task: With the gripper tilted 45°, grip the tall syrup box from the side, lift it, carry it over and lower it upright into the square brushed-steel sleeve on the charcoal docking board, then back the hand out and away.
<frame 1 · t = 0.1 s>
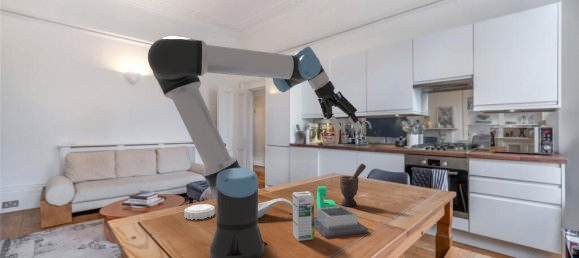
hand: (348, 129, 104), 36 cm above the table, tool tilted 35°, fingers open, 13 cm apart
docking sleeve: (336, 226, 93), on the table
mortar and pestle: (352, 205, 121), on the table
camera mount: (326, 209, 115), on the table
mooncake: (199, 216, 107), on the table
spoon rest: (267, 217, 106), on the table
syrup box: (303, 237, 84), on the table
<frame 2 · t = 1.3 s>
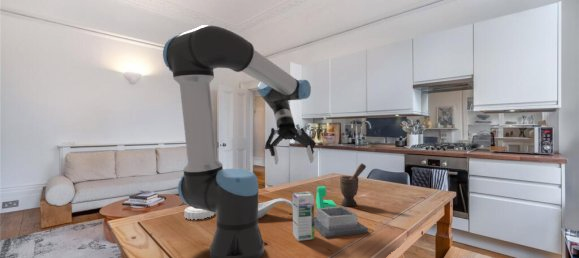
hand: (294, 161, 94), 24 cm above the table, tool tilted 45°, fingers open, 13 cm apart
nothing on the table moved.
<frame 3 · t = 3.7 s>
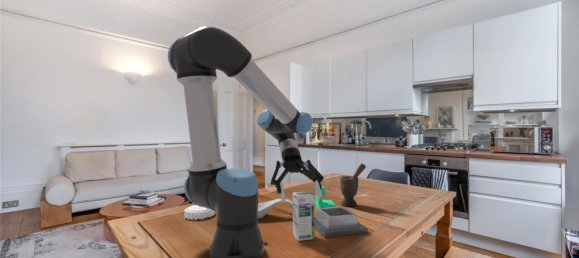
hand: (302, 199, 89), 11 cm above the table, tool tilted 45°, fingers open, 13 cm apart
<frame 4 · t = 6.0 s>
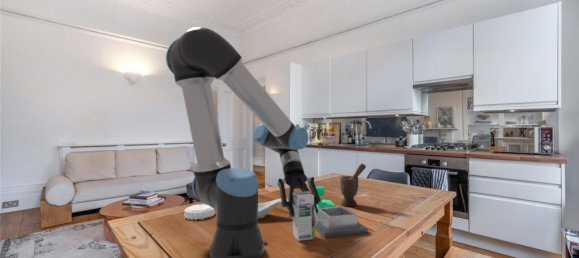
hand: (307, 224, 81), 5 cm above the table, tool tilted 45°, fingers closed on syrup box, 6 cm apart
syrup box: (303, 237, 84), on the table, touching gripper
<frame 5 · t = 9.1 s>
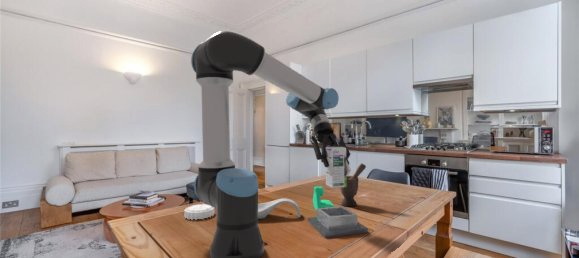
hand: (340, 173, 90), 20 cm above the table, tool tilted 45°, fingers closed on syrup box, 6 cm apart
syrup box: (335, 186, 94), point 15 cm above the table, touching gripper
when the fingers open (8 cm above the table, at t = 12.0 s): syrup box drops 1 cm, resting on docking sleeve.
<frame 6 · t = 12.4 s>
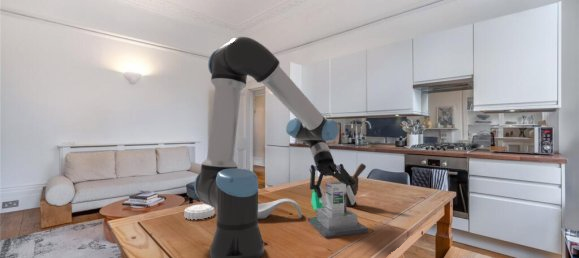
hand: (339, 203, 91), 9 cm above the table, tool tilted 45°, fingers open, 10 cm apart
syrup box: (335, 222, 93), point 1 cm above the table, touching docking sleeve
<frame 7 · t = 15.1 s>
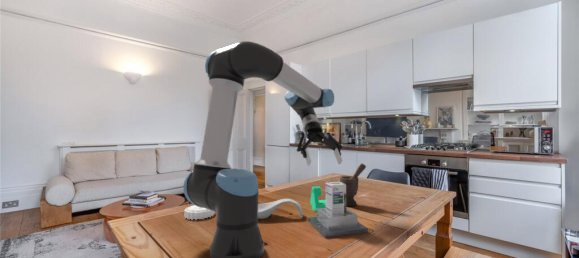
hand: (325, 162, 103), 22 cm above the table, tool tilted 45°, fingers open, 13 cm apart
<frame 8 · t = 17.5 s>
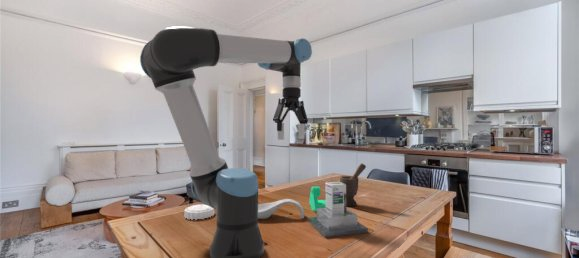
hand: (291, 139, 106), 32 cm above the table, tool pointing down, fingers open, 13 cm apart
at the end: syrup box 0.1 cm off-centre on the docking sleeve, point 1.3 cm above the docking sleeve's base; syrup box tilted 0°; the gripper is holding nothing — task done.
